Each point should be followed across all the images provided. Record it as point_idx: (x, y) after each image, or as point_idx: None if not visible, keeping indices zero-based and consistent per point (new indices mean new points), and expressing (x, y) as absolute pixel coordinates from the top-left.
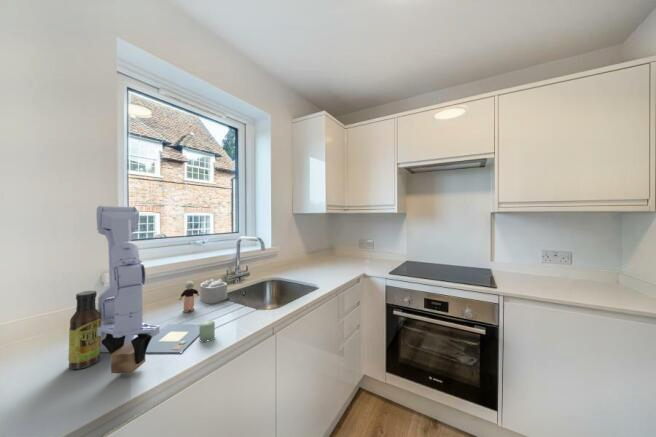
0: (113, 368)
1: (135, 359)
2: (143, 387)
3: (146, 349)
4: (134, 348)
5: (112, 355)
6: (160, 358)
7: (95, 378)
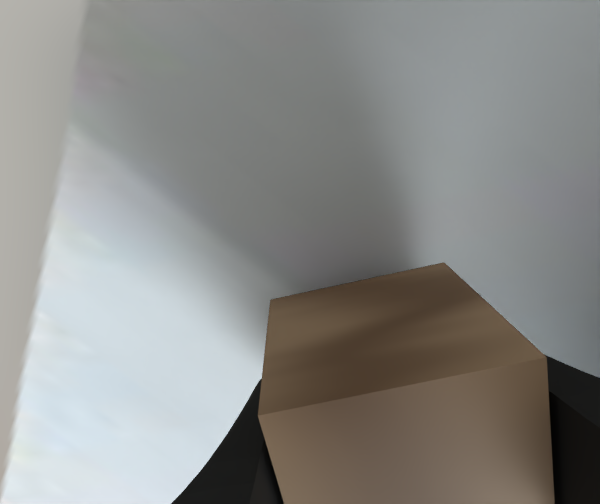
0: (438, 283)
1: None
2: (94, 232)
3: None
4: (240, 502)
5: (515, 351)
6: None
7: (563, 230)
